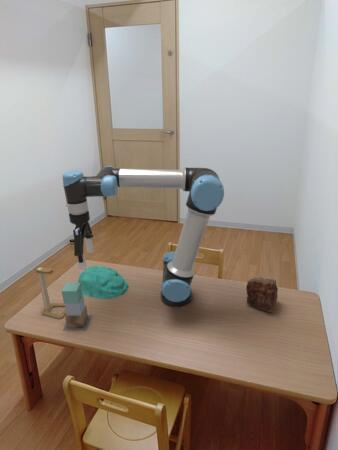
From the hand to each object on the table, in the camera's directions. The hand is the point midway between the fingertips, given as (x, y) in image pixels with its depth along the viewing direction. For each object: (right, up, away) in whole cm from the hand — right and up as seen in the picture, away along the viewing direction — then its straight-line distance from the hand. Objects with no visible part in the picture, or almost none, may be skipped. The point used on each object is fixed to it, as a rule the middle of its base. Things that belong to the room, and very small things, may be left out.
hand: (86, 260), depth 137 cm
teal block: (-6, -16, +1) cm, 17 cm away
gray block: (-5, -22, +4) cm, 23 cm away
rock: (+75, -23, +14) cm, 80 cm away
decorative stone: (0, -17, +32) cm, 36 cm away
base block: (-5, -27, +6) cm, 28 cm away
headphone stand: (-17, -25, +14) cm, 33 cm away
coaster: (-5, -28, +6) cm, 29 cm away
